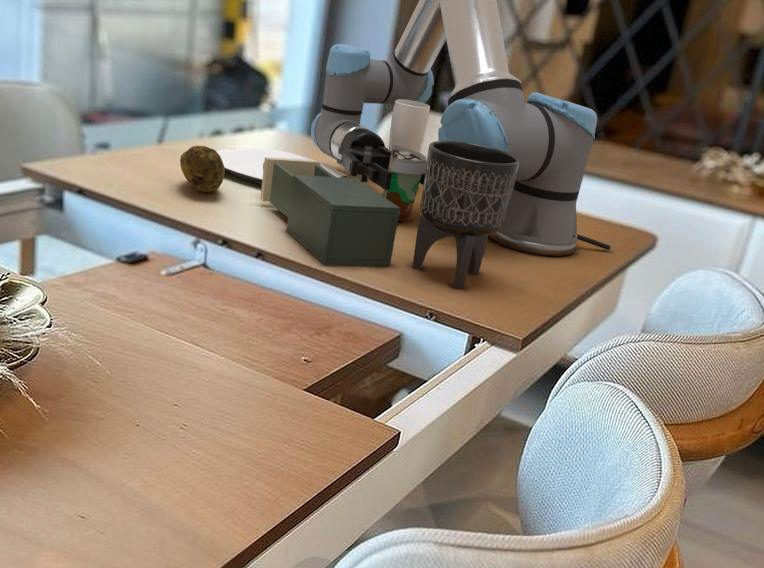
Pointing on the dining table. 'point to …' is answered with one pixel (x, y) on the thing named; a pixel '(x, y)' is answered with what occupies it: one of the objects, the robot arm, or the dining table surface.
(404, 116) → the drinking glass
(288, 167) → the drawer
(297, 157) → the plate
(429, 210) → the planter
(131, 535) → the dining table surface
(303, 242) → the cabinet
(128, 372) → the dining table surface
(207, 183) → the potato
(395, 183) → the food container
